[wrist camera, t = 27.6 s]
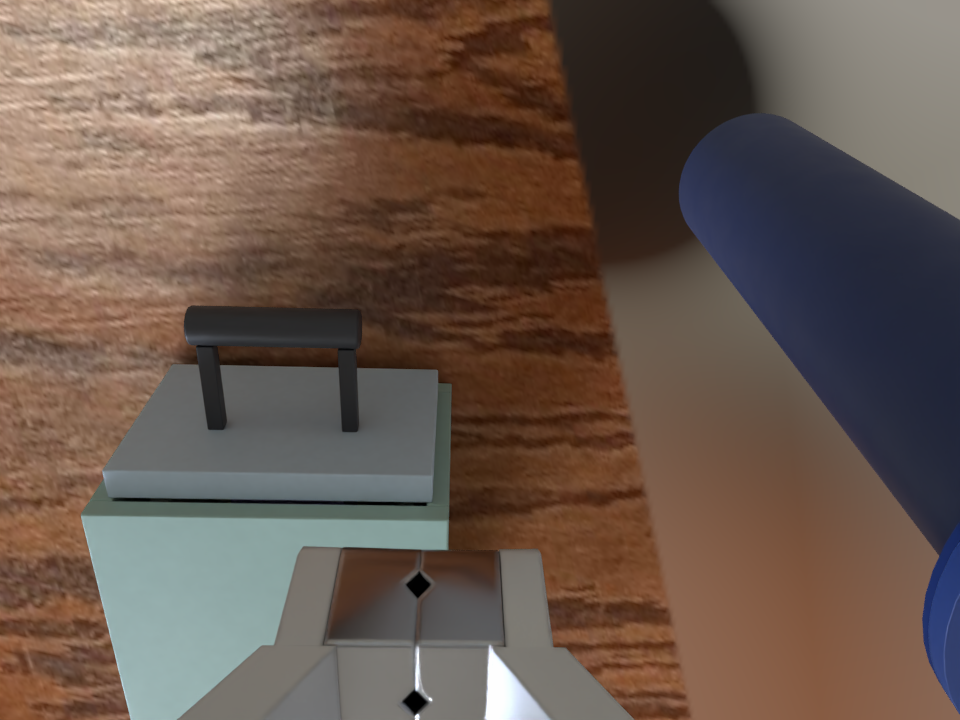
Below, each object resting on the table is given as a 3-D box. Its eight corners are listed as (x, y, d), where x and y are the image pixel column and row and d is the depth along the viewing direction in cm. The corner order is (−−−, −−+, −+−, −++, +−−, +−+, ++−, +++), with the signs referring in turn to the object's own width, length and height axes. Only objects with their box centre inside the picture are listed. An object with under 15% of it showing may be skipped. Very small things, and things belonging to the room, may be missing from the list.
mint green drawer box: (168, 377, 36) (79, 514, 28) (451, 383, 37) (448, 520, 28) (208, 618, 43) (146, 787, 35) (446, 620, 44) (443, 788, 35)
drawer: (154, 255, 33) (73, 343, 26) (439, 263, 33) (433, 351, 26) (209, 598, 41) (159, 732, 34) (435, 600, 42) (430, 734, 35)
